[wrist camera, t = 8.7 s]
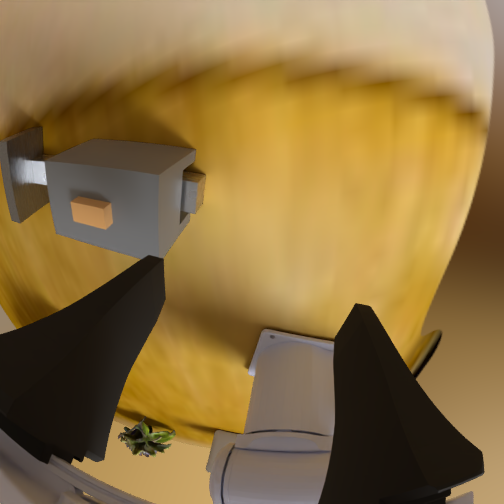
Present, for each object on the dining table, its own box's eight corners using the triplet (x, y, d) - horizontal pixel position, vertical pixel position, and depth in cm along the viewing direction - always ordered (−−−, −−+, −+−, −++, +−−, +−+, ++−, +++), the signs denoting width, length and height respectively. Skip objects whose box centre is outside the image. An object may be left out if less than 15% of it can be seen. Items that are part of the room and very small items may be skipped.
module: (196, 149, 15) (152, 180, 10) (190, 220, 18) (154, 271, 13) (93, 138, 15) (36, 165, 11) (97, 200, 18) (49, 239, 14)
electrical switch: (265, 437, 42) (256, 480, 35) (259, 441, 45) (252, 480, 38) (216, 427, 42) (204, 470, 35) (214, 431, 45) (204, 471, 38)
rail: (210, 135, 14) (185, 151, 11) (199, 236, 18) (179, 271, 15) (32, 127, 15) (-2, 141, 12) (40, 199, 19) (11, 220, 16)
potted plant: (157, 408, 56) (123, 433, 49) (141, 397, 48) (103, 425, 42) (186, 441, 50) (151, 467, 44) (174, 436, 42) (133, 466, 36)
